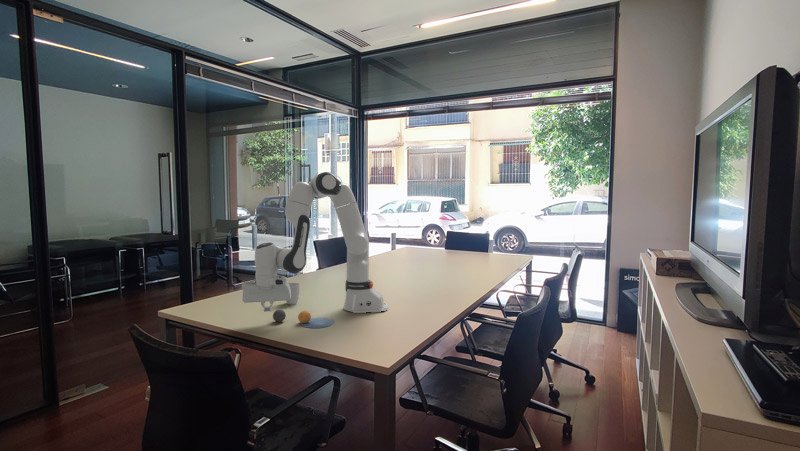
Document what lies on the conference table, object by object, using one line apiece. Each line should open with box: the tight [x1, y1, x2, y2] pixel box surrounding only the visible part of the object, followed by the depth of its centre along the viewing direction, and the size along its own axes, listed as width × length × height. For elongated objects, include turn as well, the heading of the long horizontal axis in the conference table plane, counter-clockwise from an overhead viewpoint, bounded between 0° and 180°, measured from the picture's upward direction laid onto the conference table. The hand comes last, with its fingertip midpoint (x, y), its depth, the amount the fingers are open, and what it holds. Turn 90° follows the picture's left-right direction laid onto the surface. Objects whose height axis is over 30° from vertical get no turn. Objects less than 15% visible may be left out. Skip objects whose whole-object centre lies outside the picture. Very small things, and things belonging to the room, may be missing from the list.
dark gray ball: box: [272, 308, 287, 323], centre depth 175 cm, size 6×6×6 cm
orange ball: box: [297, 310, 312, 324], centre depth 174 cm, size 6×6×6 cm
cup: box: [286, 282, 301, 305], centre depth 205 cm, size 8×8×10 cm
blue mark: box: [300, 317, 335, 329], centre depth 174 cm, size 14×14×1 cm
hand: (267, 311), depth 173 cm, fingers closed
